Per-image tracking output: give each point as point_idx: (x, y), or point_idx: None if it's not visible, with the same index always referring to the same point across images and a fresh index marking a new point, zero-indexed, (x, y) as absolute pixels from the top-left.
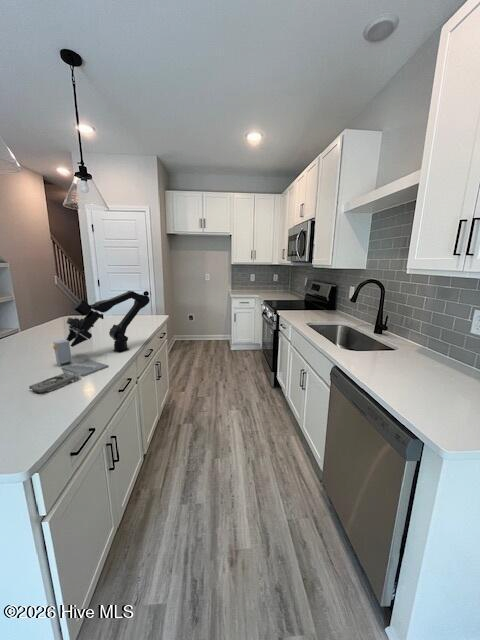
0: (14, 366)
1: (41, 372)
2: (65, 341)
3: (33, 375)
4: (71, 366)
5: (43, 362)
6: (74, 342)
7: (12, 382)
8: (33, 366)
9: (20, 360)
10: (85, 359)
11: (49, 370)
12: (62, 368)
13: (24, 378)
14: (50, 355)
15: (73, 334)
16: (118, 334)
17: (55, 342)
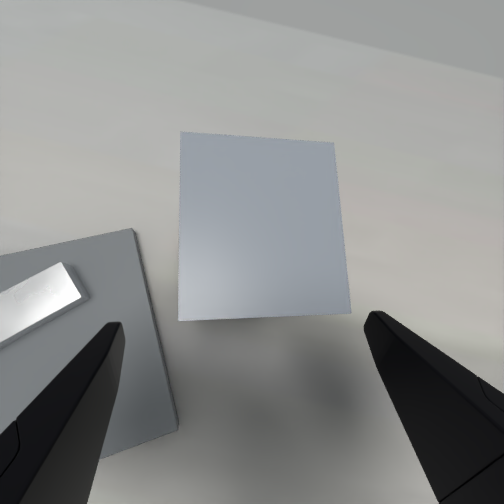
0: (385, 80)
1: (176, 137)
2: (207, 270)
3: (159, 98)
4: (41, 276)
5: (357, 190)
6: (56, 391)
7: (134, 12)
8: (321, 137)
9: (466, 121)
10: (175, 418)
11: (176, 176)
12: (117, 233)
13: (148, 59)
14: (468, 251)
15: (491, 493)
16: None
17: (262, 147)
